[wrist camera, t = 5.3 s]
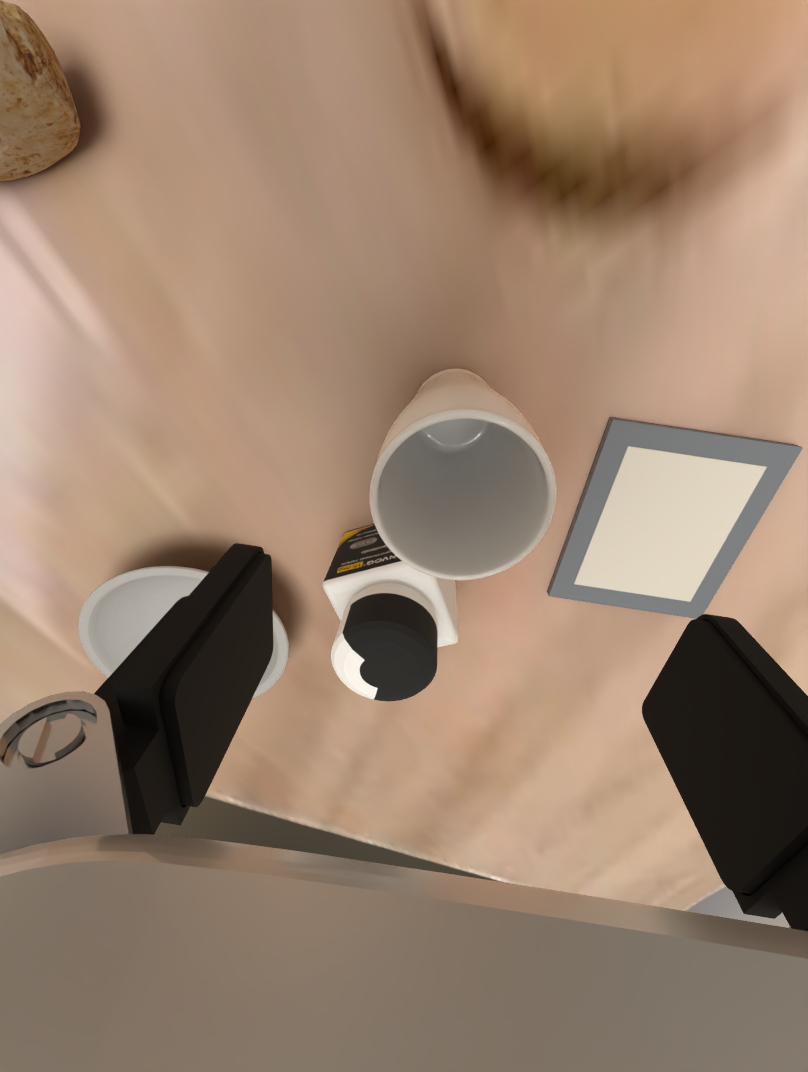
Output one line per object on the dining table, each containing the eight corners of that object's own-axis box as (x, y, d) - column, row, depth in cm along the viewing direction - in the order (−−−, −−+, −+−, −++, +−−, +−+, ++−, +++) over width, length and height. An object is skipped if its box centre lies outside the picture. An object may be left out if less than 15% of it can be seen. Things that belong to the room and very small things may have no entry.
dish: (257, 509, 33) (229, 541, 29) (334, 645, 39) (320, 688, 35) (82, 566, 37) (34, 601, 33) (177, 681, 43) (147, 723, 39)
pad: (609, 417, 28) (613, 419, 27) (796, 444, 28) (803, 447, 27) (547, 591, 35) (549, 596, 34) (696, 614, 34) (700, 619, 34)
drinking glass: (520, 433, 29) (584, 546, 16) (429, 474, 31) (417, 606, 18) (482, 333, 26) (520, 368, 13) (384, 385, 28) (330, 461, 15)
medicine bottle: (430, 507, 32) (423, 609, 21) (457, 583, 35) (462, 705, 24) (342, 531, 34) (296, 637, 23) (375, 602, 37) (348, 724, 26)
